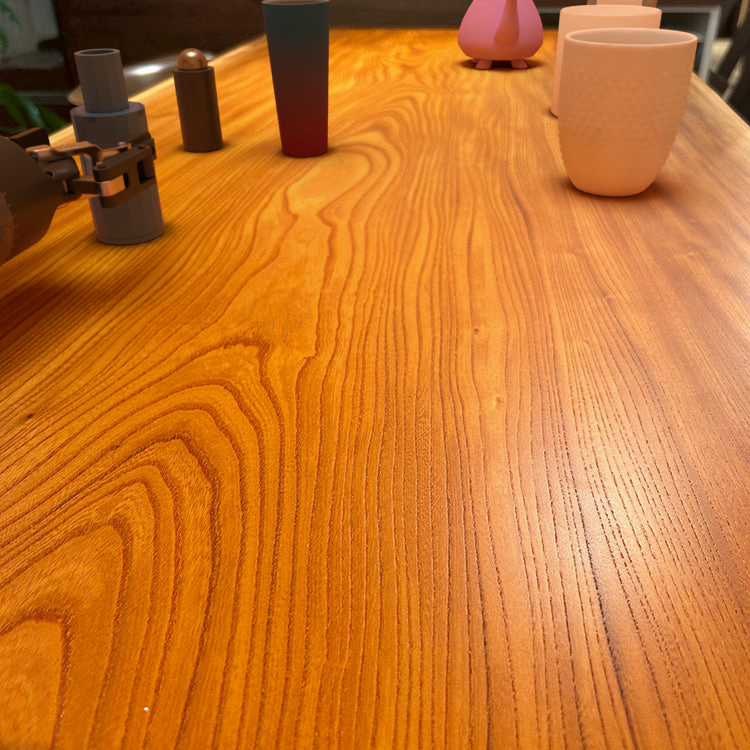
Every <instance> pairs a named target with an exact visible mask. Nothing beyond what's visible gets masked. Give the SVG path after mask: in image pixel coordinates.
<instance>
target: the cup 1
mask: <svg viewBox="0 0 750 750" xmlns="http://www.w3.org/2000/svg"><path fill="white" fill-rule="evenodd" d="M261 8H262V15H263V22H264V29H265V30H264V31H265V37H266V44H267V51H268V59H269V67H270V72H271V80H272V87H273V93H274V102H275V111H276V116H277V125H278V131H279V138H280V146H281V150H282V154H283V155H285V156H289V157H297V158H309V157H316V156H320V155H324V154H326V153H327V152H328V151H329V85H330V84H329V83H330V81H329V80H330V78H329V77H330V72H329V71H330V0H262V1H261Z"/></svg>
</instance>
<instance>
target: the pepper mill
mask: <svg viewBox="0 0 750 750" xmlns="http://www.w3.org/2000/svg"><path fill="white" fill-rule="evenodd" d="M176 63H177V64H176V65H177V67H174V68H173V69H172V77H173V84H174V90H175V97H176V104H177V105H176V106H177V112H178V119H179V125H180V132H181V139H182V147H183V150H185V151H186V152H190V153H207V152H208V153H209V152H213V151H217V150H220V149H223V147H224V141H223V133H222V125H221V116H220V108H219V98H218V90H217V83H216V81H217V80H216V73H215V67H214V66H213V65H209V62H208V59H207V57H206V55H205V54H204V53H203V52H202V51H201V50H199V49H197V48H193V47H191V48H186V49H184V50H182V51H181V52H180V54H179V55H178V57H177V62H176Z"/></svg>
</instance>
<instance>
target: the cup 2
mask: <svg viewBox="0 0 750 750" xmlns="http://www.w3.org/2000/svg"><path fill="white" fill-rule="evenodd" d="M662 12H663V11H662V10H661V9H660V8H658V7H656V8H653V7H645V6H633V5H587V4H585V5H574V6H573V5H572V6H567V7H563V8H562V9H560V12H559V20H558V21H559V22H558V32H557V42H556V53H555V60H554V61H555V63H554V74H553V84H552V92H551V105H550V111H551V114H552V115H554V116H555V117H557V118H558V101H559V86H560V77H561V74H560V71H561V68H562V66H561V64H562V59H563V49H564V40H565V36H566V35H567V34H568V33H571V32H575V31H580V30H588V29H601V28H649V29H660V26H661V20H662V14H663V13H662Z"/></svg>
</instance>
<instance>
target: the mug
mask: <svg viewBox="0 0 750 750" xmlns="http://www.w3.org/2000/svg"><path fill="white" fill-rule="evenodd" d="M698 40H699V39H698V36H696V35H695V34H694V33H693V34H692V33H691V32H690V33H689V32H685V31H681V30H673V29H663V28H662V29H661V28H659V29H649V28H601V29H588V30H580V31H575V32H571V33H568V34H567V35H566V36H565V40H564V49H563V59H562V64H561V66H562V68H561V71H560V74H561V77H560V86H559V101H558V117H557V123H558V124H557V130H558V135H557V136H558V138H559V141H558V142H559V147H560V148H559V151H560V153H561V159H562V163H563V165H564V168H565V172H566V173H567V176H568V178H569V180H570V182H571V183H572V185H573V186H574V187H575V188H576V189H578V190H579V191H581V192H584V193H587V194H590V195H595V196H602V197H629V196H634V195H637V194H640V193H642V192H644V191H645V190H646V189H647V188H649V187H650V185H652V184H653V182H654V181H655V180H656V178H657V177H658V176H659V174H660V173H661V171H662V170H663V167H664V166H665V165H666V162H667V160H668V158H669V157H670V154H671V151H672V150H673V145H674V143H675V142H676V140H677V139H676V138H677V136H678V134H679V129H680V127H681V126H682V123H681V122H682V120H683V116H684V112H685V110H686V104H687V101H688V95H689V94H690V86H691V80H692V78H693V69H694V66H695V64H694V63H695V57H696V52H697V47H698V42H699V41H698Z"/></svg>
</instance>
